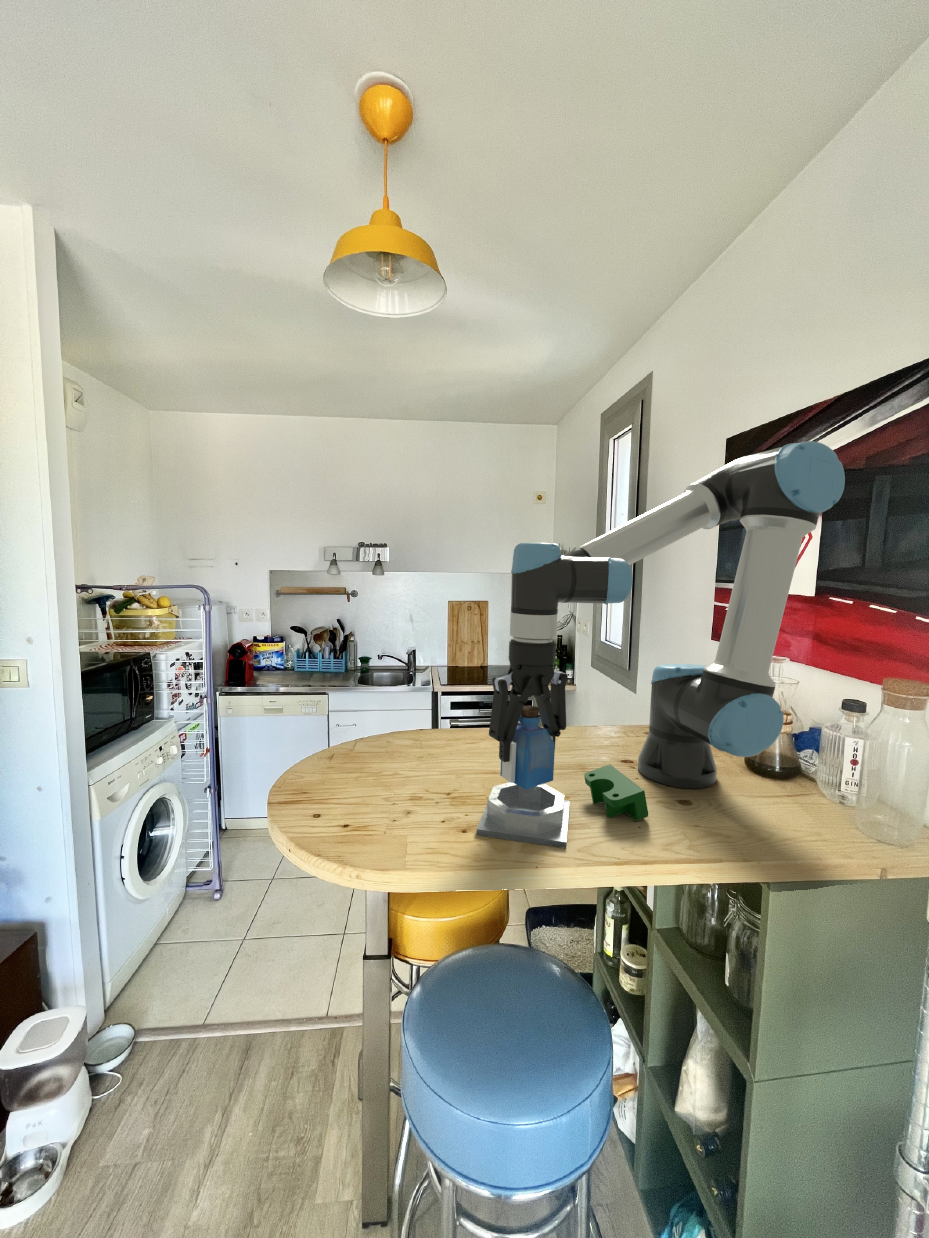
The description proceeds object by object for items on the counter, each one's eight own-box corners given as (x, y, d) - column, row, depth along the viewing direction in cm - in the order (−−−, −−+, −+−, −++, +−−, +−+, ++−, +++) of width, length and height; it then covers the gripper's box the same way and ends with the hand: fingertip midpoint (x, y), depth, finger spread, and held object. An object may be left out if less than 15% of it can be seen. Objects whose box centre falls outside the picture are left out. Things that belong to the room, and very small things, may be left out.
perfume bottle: (527, 767, 90) (530, 701, 89) (553, 780, 85) (556, 710, 84) (500, 775, 87) (503, 706, 85) (525, 789, 82) (529, 716, 80)
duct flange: (569, 806, 92) (570, 784, 91) (566, 848, 78) (567, 823, 78) (492, 796, 95) (493, 775, 95) (476, 834, 82) (477, 811, 81)
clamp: (594, 822, 95) (578, 774, 97) (623, 812, 96) (606, 764, 98) (622, 830, 84) (603, 775, 86) (654, 818, 85) (634, 764, 87)
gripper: (564, 633, 91) (558, 757, 94) (468, 638, 82) (464, 777, 84) (594, 639, 85) (586, 773, 87) (493, 646, 75) (488, 796, 78)
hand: (526, 774), depth 86 cm, fingers closed on perfume bottle, 7 cm apart
